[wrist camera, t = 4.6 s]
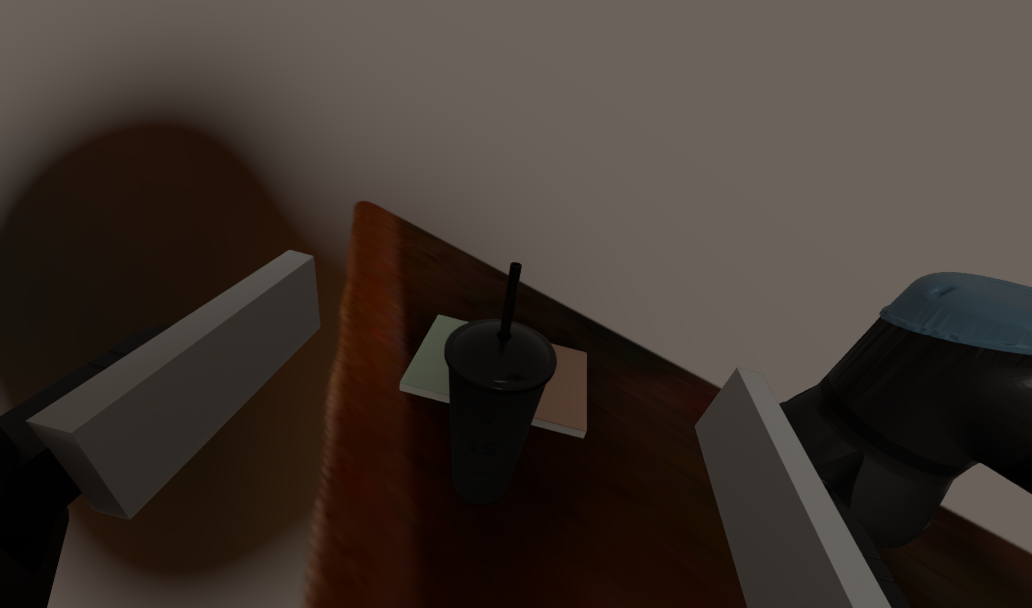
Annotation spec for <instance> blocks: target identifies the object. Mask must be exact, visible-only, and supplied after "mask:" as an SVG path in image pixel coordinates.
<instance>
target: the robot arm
mask: <svg viewBox="0 0 1032 608" xmlns="http://www.w3.org/2000/svg"><path fill="white" fill-rule="evenodd" d="M319 328H320V318H319V308H318V297H317V287H316V276H315V265H314V256H311V255H307V254H303V253H299V252H296V251H292V250H289V251H287V252H285V253H284V254H282V255H281V256H279V257H278V258H276V259H275V260H273V261H272V262H270V263H268V264H267V265H266V266H264V267H262V268H261V269H259V270H258V271H256V272H255V273H253V274H252V275H250V276H248V277H247V278H245V279H244V280H242V281H241V282H239V283H238V284H236V285H235V286H233V287H231V288H230V289H228V290H227V291H225V292H224V293H222V294H221V295H219V296H218V297H216V298H215V299H213V300H211V301H210V302H209V303H207V304H206V305H204V306H202V307H201V308H199V309H198V310H196V311H194V312H193V313H191V314H190V315H188V316H187V317H185V318H184V319H182V320H181V321H179V322H177V323H176V324H174V325H173V326H171V327H169V326H165V325H159V326H157V327H154V328H151V329H148V330H145V331H143V332H140V333H137V334H135V335H132V336H130V337H129V338H127V339H126V340H124V341H122V342H121V343H119V344H117V345H116V346H114V347H113V348H111V349H109V350H108V353H106V354H105V353H103V354H101V355H99V356H98V357H97V358H95V359H93V360H91V361H90V362H88V365H87V366H82V367H80V368H78V369H77V370H75V371H73V372H72V373H70V374H68V375H67V376H65V377H64V378H62V379H60V380H59V381H57V382H56V383H54V384H52V385H51V386H49V387H47V388H46V389H44V390H42V391H41V392H39V393H37V394H36V395H34V396H33V397H31V398H29V399H28V400H26V401H24V402H23V403H21V404H20V405H18V406H16V407H15V408H13V409H11V410H10V411H8V412H6V413H5V414H3V415H1V416H0V608H47V605H48V601H49V598H50V593H51V589H52V585H53V582H54V578H55V573H56V569H57V566H58V562H59V558H60V554H61V549H62V546H63V542H64V538H65V534H66V530H67V526H68V522H69V509H68V508H67V506H68V505H69V504H70V503H71V502H72V501H74V500H75V499H76V498H77V497H78V496H79V495H80V494H82V495H83V497H84V498H85V499H86V501H87V502H88V503H89V505H90V506H91V507H92V508H93V510H96V511H100V512H104V513H107V514H111V515H115V516H118V517H122V518H125V519H129V520H130V519H131V518H132V517H133V516H134V515H135V514H136V513H137V512H138V511H139V510H140V509H141V508H142V507H143V506H144V505H145V504H146V503H147V502H148V501H149V500H150V499H151V498H152V497H153V496H154V495H155V494H156V493H157V492H158V491H159V490H160V489H161V488H162V487H163V486H164V485H165V484H166V483H167V482H168V481H169V480H170V479H171V478H172V476H174V475H175V474H176V473H177V472H178V471H179V470H180V469H181V468H182V467H183V466H184V465H185V464H186V463H187V462H188V461H189V460H190V458H192V457H193V456H194V454H195V453H196V452H197V451H198V450H199V449H200V448H201V447H202V446H203V445H204V444H205V443H206V442H207V441H208V440H209V439H210V438H211V437H212V436H213V435H214V434H215V433H216V432H217V431H218V430H219V429H220V428H221V427H222V426H223V425H224V424H225V423H226V422H227V421H228V420H229V419H230V418H231V417H232V416H233V415H234V414H235V413H236V412H237V411H238V410H239V409H240V408H241V407H242V406H243V405H244V404H245V403H246V402H247V401H248V400H249V399H250V398H251V397H252V396H253V395H254V394H255V393H256V392H257V391H258V390H259V389H260V388H261V387H262V386H263V385H264V384H265V383H266V382H267V381H268V380H269V379H270V377H272V375H273V374H274V373H275V372H276V371H277V370H278V369H279V368H280V367H281V366H282V365H283V364H284V363H285V362H286V361H287V360H288V359H289V358H290V357H291V356H292V355H293V354H294V353H295V352H296V351H297V350H298V349H299V348H300V347H301V346H302V345H303V344H304V343H305V342H306V341H307V340H308V339H309V338H310V337H311V336H312V335H313V334H314V333H315V332H316V331H317V330H318V329H319ZM695 429H696V432H697V436H698V439H699V443H700V446H701V450H702V453H703V456H704V460H705V463H706V467H707V470H708V474H709V477H710V480H711V484H712V487H713V491H714V494H715V498H716V501H717V505H718V508H719V511H720V515H721V518H722V522H723V525H724V529H725V532H726V535H727V539H728V542H729V546H730V549H731V553H732V556H733V559H734V563H735V566H736V570H737V573H738V577H739V580H740V583H741V587H742V590H743V594H744V597H745V601H746V604H747V607H748V608H911V606H910V605H909V603H908V601H907V600H906V598H905V596H904V594H903V593H902V591H901V589H900V588H899V586H898V584H895V583H894V581H893V580H894V577H893V576H892V574H891V572H890V571H889V569H888V567H887V566H886V564H885V562H883V561H881V559H880V557H881V555H880V554H879V552H878V550H877V549H876V547H875V546H880V547H889V548H892V547H900V546H903V545H905V544H907V543H909V542H910V541H912V540H913V539H915V538H917V537H918V536H920V535H921V534H923V533H924V532H925V531H926V530H927V529H928V528H929V526H930V524H931V521H932V518H933V515H934V513H935V512H936V510H937V509H938V507H939V505H940V504H941V502H942V500H943V498H944V496H945V495H946V493H947V491H948V489H949V487H950V485H951V484H952V482H953V480H954V479H955V478H957V477H958V476H959V475H961V474H962V473H964V472H965V471H966V470H968V469H969V468H971V467H972V466H974V465H976V464H978V463H982V464H984V465H985V466H988V467H989V468H991V469H992V470H994V471H996V472H997V473H999V474H1000V475H1002V476H1003V477H1005V478H1006V479H1008V480H1010V481H1011V482H1013V483H1015V484H1016V485H1018V486H1019V487H1021V488H1023V489H1024V490H1026V491H1027V492H1029V493H1030V494H1032V287H1028V286H1024V285H1020V284H1016V283H1012V282H1008V281H1004V280H1000V279H995V278H990V277H985V276H980V275H973V274H967V273H957V272H940V273H934V274H929V275H926V276H923V277H921V278H919V279H917V280H916V281H914V282H913V283H912V284H911V285H910V286H909V287H908V288H907V289H906V290H905V291H904V292H903V293H902V294H900V296H899V297H897V298H896V299H895V300H894V301H893V302H892V303H891V304H890V305H888V306H886V307H884V308H883V309H882V310H881V312H880V318H879V319H878V320H877V321H876V322H875V323H874V324H873V325H872V326H871V328H870V329H869V330H868V331H867V332H866V333H865V334H864V335H863V336H862V337H861V338H860V339H859V340H858V341H857V342H856V344H855V345H854V346H853V347H852V348H851V349H850V350H849V351H848V352H847V353H846V354H845V356H844V357H843V358H842V359H841V360H840V361H839V362H838V363H837V364H836V365H835V366H834V367H833V368H832V370H831V371H830V372H829V373H828V374H827V375H826V376H825V377H824V378H823V379H822V381H821V382H820V383H819V384H817V385H816V386H814V387H812V388H810V389H808V390H806V391H804V392H802V393H800V394H798V395H796V396H794V397H793V398H791V399H790V400H788V401H786V402H782V403H780V404H778V402H777V400H776V398H775V396H774V394H773V393H772V391H771V389H770V387H769V385H768V384H767V382H766V380H765V378H764V376H763V375H762V374H760V373H756V372H753V371H749V370H745V369H741V368H736V370H735V371H734V373H733V374H732V375H731V377H730V378H729V379H728V381H727V382H726V384H725V385H724V386H723V388H722V389H721V391H720V392H719V393H718V395H717V396H716V397H715V399H714V400H713V402H712V403H711V404H710V406H709V407H708V409H707V410H706V411H705V413H704V414H703V416H702V417H701V418H700V420H699V421H698V423H697V424H696V425H695Z"/></svg>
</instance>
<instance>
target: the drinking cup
mask: <svg viewBox="0 0 1032 608" xmlns="http://www.w3.org/2000/svg"><path fill="white" fill-rule="evenodd" d="M521 268H522V265H521V264H520V263H517V262H512V263H511V265H510V271H509V277H508V283H507V290H506V296H505V302H504V308H503V314H502V320H500V319H483V320H477V321H472V322H469V323H466V324H464V325H462V326H460V327H458V328H457V329H455V330H454V331H453V332H452V333H451V334H450V335H449V337H448V338H447V340H446V343H445V347H444V357H445V361H446V364H447V366H448V369H449V400H450V432H451V463H452V483H453V486H454V488H455V490H456V492H457V493H458V494H459V495H460V496H461V497H462V498H463V499H465V500H466V501H468V502H471V503H474V504H488V503H491V502H494V501H496V500H497V499H499V498H500V497H501V496H502V495H503V494H504V493H505V491H506V489H507V487H508V484H509V482H510V479H511V476H512V474H513V471H514V468H515V466H516V463H517V460H518V458H519V455H520V452H521V450H522V447H523V444H524V442H525V439H526V436H527V434H528V431H529V428H530V426H531V423H532V421H533V418H534V415H535V413H536V410H537V407H538V405H539V402H540V399H541V397H542V394H543V391H544V389H545V386H546V384H547V383H548V382H549V381H550V379H551V378H552V377H553V375H554V373H555V370H556V366H557V356H556V352H555V350H554V348H553V346H552V345H551V343H550V342H549V341H548V340H547V339H546V338H545V337H544V336H543V335H541V334H540V333H539V332H537V331H535V330H534V329H532V328H530V327H527V326H525V325H523V324H520V323H516V322H512V318H513V313H514V307H515V301H516V296H517V290H518V284H519V279H520V273H521Z"/></svg>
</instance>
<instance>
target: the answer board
mask: <svg viewBox="0 0 1032 608" xmlns="http://www.w3.org/2000/svg"><path fill="white" fill-rule="evenodd" d="M466 323H469V322H466V321H462V320H458V319H454V318H450V317H446V316H442V315H438V316H437V318H436V320H435V322H434V323H433V325H432V327H431V329H430V330H429V332H428V334H427V336H426V337H425V339H424V341H423V343H422V344H421V346H420V348H419V350H418V351H417V353H416V355H415V357H414V358H413V360H412V362H411V364H410V365H409V367H408V369H407V371H406V372H405V374H404V376H403V378H402V379H401V381H400V391H404V392H408V393H412V394H415V395H419V396H423V397H427V398H431V399H434V400H438V401H442V402H446V403H450V400H449V369H448V366H447V364H446V361H445V357H444V347H445V343H446V340H447V338H448V337H449V335H450V334H451V333H452V332H453V331H454V330H455V329H457V328H458V327H460V326H462V325H464V324H466ZM551 345H552V346H553V348H554V350H555V352H556V356H557V366H556V370H555V373H554V375H553V377H552V378H551V379H550V381H549V382H548V383H547V384H546V386H545V389H544V391H543V394H542V397H541V399H540V402H539V405H538V407H537V410H536V413H535V415H534V418H533V421H532V423H531V425H534V426H538V427H541V428H545V429H549V430H553V431H557V432H560V433H564V434H568V435H572V436H576V437H580V438H584V436H585V434H586V431H587V353H586V352H582V351H578V350H574V349H570V348H566V347H562V346H559V345H555V344H551Z"/></svg>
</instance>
